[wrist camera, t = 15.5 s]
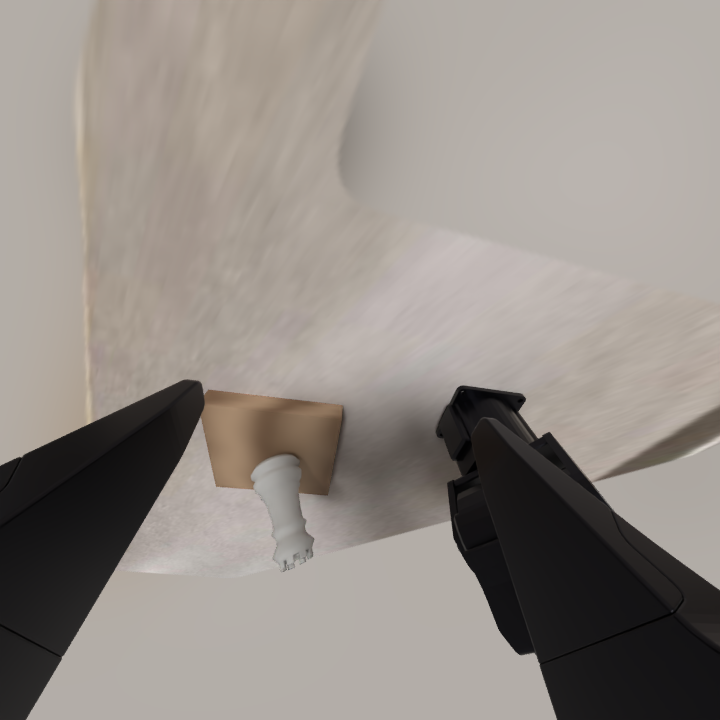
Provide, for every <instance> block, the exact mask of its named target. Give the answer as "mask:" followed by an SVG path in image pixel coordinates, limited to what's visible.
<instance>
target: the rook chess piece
mask: <svg viewBox="0 0 720 720" xmlns="http://www.w3.org/2000/svg"><path fill="white" fill-rule="evenodd" d="M299 464H300V460H299V459H297V458H296V457H295V456H293V455H291V454H281V455H276V456H273V457H270V458H268V459H266V460H264V461H262V462H261V463H259V464H258V465H257V466H256V467H255V469H254V471H253V473H252V475H251V480H252V481H254V482H255V483H254V485H253V488H254V490H255V492H256V494H258V495H260V496H261V500H263V501H264V502H265V504H266V506H267V509H268V512H269V515H270V518H271V521H272V525H273V532H272V537H273V538H274V539H275V540H276V545H277V546H276V549H275V552H274V555H273V560H274V561H275V562H276V563H278V564H279V566H280V571H281V572H284V571H286V570H287V569H286V564H287V566H288V570H290V569H292V568H294V567H295V565H294V562H295V561H296V560H298V559H299V563H300V564H302V563H304V562H306V559H305V557H306V556H307V559H310V558H312V557H313V552H312V546H313V542H314V538H313V537H312V536H311V535H309V534H308V533H307V532H306V530H305V524H306V519H304V518H303V516H302V512H301V508H300V501H299V486H300V482H299V481H300V479H301V468H299V467H298V466H299Z"/></svg>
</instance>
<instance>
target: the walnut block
mask: <svg viewBox="0 0 720 720" xmlns="http://www.w3.org/2000/svg"><path fill="white" fill-rule="evenodd" d="M204 399H205V406H204V409H203V412H202V414H201V419H202V424H203V428H204V433H205V438H206V442H207V447H208V452H209V456H210V461H211V465H212V470H213V475H214V479H215V484H216V487H228V488H241V489H253V490H254V488H253V485H254V483H255V482H254V481H252V480H251V475H252V473H253V471H254V469H255V467H256V466H257V465H258V464H259V463H261V462H262V461H264V460H266V459H268V458H270V457H273V456H276V455H281V454H291V455H293V456H295V457H296V458H297V459H299V460H300V464H299V466H298V467H299V468H301V479H300V481H299V482H300V486H299V493H304V494H317V495H328V492H329V486H330V481H331V476H332V470H333V465H334V459H335V454H336V449H337V443H338V438H339V433H340V427H341V422H342V410H343V405H335V404H326V403H318V402H309V401H300V400H292V399H283V398H275V397H266V396H257V395H249V394H240V393H232V392H223V391H214V390H208V391H207V392H206V394H205V395H204Z"/></svg>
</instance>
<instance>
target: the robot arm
mask: <svg viewBox="0 0 720 720" xmlns="http://www.w3.org/2000/svg"><path fill="white" fill-rule="evenodd" d="M462 391H464V392H462ZM525 401H526V398H525V397H524V395H523V394H520V393H513V392H506V391H498V390H491V389H484V388H477V387H470V386H460V387H458V388H457V390H456V392H455V394H454V396H453V398H452V400H451V402H450V404H449V405H448V406H447V408H446V410H445V412H444V414H443V416H442V419H441V421H440V423H439V427H438V429H437V431H436V434H437V437H439V438H444V440H445V443H446V446H447V449H448V452H449V454H450V457H451V459H452V460H453V461H456V462H457V464H458V467H459V470H460V472H461V475H462V477H460V478H458V479H456V480H452V481H450V482H448V483H447V485H448V496H449V504H450V513H451V521H452V529H453V537H454V540H455V542H456V543H457V547H458V549H459V551H460V552H461V554H462V556H463V557H464V559H465V561H466V563H467V564H468V566H469V567H470V569H471V570H472V571H473V572H474V573H475V575H476V577H477V579H478V581H479V583H480V585H481V587H482V589H483V591H484V594H485V596H486V599H487V601H488V603H489V606H490V609H491V611H492V614H493V616H494V619H495V621H496V624H497V627H498V629H499V631H500V632H501V634H502V635H503V636H504V638H505V639H506V640H507V642H508V643H509V644H510V645H511V647H512V648H513V649H514V650H515V651H516V652H517V653H518V654H519V655H525V654H530V653H535V654H536V655H537V659H538V662H539V663H540V668H541V671H542V675H543V678H544V681H545V684H546V687H547V690H548V693H549V696H550V699H551V702H552V705H553V708H554V711H555V714H556V718H557V720H720V590H719V589H717V588H716V587H714V586H713V585H712V584H710V583H709V582H708V581H706V580H705V579H703V578H702V577H701V576H699V575H698V574H696V573H695V572H694V571H692V570H691V569H690V568H688V567H687V566H685V565H684V564H683V563H681V562H680V561H679V560H677V559H676V558H674V557H673V556H672V555H670V554H669V553H668V552H666V551H665V550H663V549H662V548H661V547H659V546H658V545H657V544H655V543H654V542H653V541H651V540H650V539H649V538H647V537H646V536H645V535H643V534H642V533H641V532H640V531H638V530H637V529H635V528H634V527H633V526H632V525H630V524H629V523H628V522H626V521H625V520H624V519H623V518H621V517H620V516H619V515H617V514H616V513H615V512H614V510H613V509H612V508H611V506H610V505H609V504H608V503H607V502H606V501H605V499H604V498H603V496H602V495H601V494H600V493H599V491H598V490H597V489H596V488H595V486H594V485H593V484H592V483H591V481H590V480H589V479H588V478H587V476H586V475H585V474H584V473H583V472H582V470H581V469H580V468H579V467H578V465H577V464H576V463H575V462H574V461H573V459H572V458H571V457H570V456H569V455H568V453H567V452H566V451H565V450H564V449H563V447H562V446H561V445H560V444H559V443H558V441H557V440H556V439H555V438H554V437H553V435H552V434H551V433H550V432H548V433H546V434H544V435H542V436H543V437H541V438H539V439H538V438H537V437H536V435H535V434H534V433H533V431H532V430H531V429H530V427H529V426H528V424H527V423H526V422H525V420H524V419H523V418H522V416H521V415H520V414H519V412H518V411H519V410H520V408H521V407H522V405H523V404H524V402H525ZM204 406H205V399H204V393H203V388H202V384H201V382H199V381H196V380H188V379H187V380H182V381H180V382H178V383H176V384H174V385H172V386H170V387H167V388H165V389H163V390H161V391H159V392H157V393H155V394H152V395H150V396H148V397H146V398H144V399H142V400H140V401H138V402H135V403H133V404H131V405H129V406H127V407H125V408H123V409H120V410H118V411H116V412H114V413H112V414H110V415H108V416H106V417H103V418H101V419H99V420H97V421H95V422H93V423H91V424H88V425H86V426H84V427H82V428H80V429H78V430H76V431H73V432H71V433H69V434H67V435H65V436H63V437H61V438H59V439H57V440H54V441H52V442H50V443H48V444H46V445H44V446H41V447H39V448H37V449H35V450H33V451H31V452H29V453H27V454H25V455H23V457H22V458H21V457H18V458H16V459H14V460H12V461H9V462H7V463H5V464H3V465H1V466H0V720H26V719H27V717H28V715H29V714H30V712H31V710H32V709H33V707H34V705H35V703H36V702H37V700H38V698H39V697H40V695H41V693H42V692H43V690H44V688H45V687H46V685H47V683H48V682H49V680H50V678H51V677H52V675H53V673H54V671H55V670H56V668H57V666H58V665H59V663H60V661H61V659H62V656H63V655H64V654H65V652H66V651H67V649H68V647H69V646H70V644H71V642H72V641H73V639H74V637H75V636H76V634H77V632H78V631H79V629H80V627H81V626H82V624H83V622H84V621H85V619H86V617H87V615H88V614H89V612H90V610H91V609H92V607H93V605H94V604H95V602H96V600H97V599H98V597H99V595H100V594H101V592H102V590H103V588H104V587H105V585H106V583H107V582H108V580H109V578H110V576H111V575H112V573H113V572H114V570H115V568H116V567H117V565H118V563H119V562H120V560H121V558H122V557H123V555H124V553H125V552H126V550H127V548H128V547H129V545H130V543H131V541H132V540H133V538H134V536H135V535H136V533H137V531H138V530H139V528H140V526H141V525H142V523H143V521H144V520H145V518H146V516H147V515H148V513H149V511H150V510H151V508H152V506H153V504H154V503H155V501H156V499H157V498H158V496H159V494H160V493H161V491H162V489H163V488H164V486H165V484H166V483H167V481H168V479H169V478H170V476H171V474H172V473H173V471H174V469H175V467H176V466H177V464H178V462H179V461H180V459H181V457H182V455H183V453H184V451H185V449H186V447H187V445H188V443H189V440H190V438H191V436H192V434H193V432H194V429H195V427H196V425H197V423H198V421H199V418H200V416H201V414H202V412H203V409H204Z"/></svg>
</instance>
